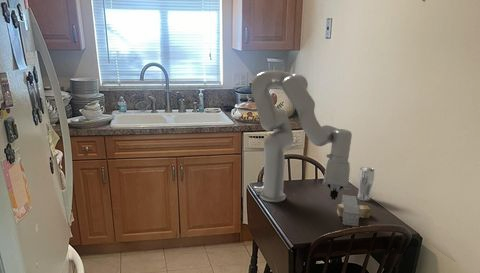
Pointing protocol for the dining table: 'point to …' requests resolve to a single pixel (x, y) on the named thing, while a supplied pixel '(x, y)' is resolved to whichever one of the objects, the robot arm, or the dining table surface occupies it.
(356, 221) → the housing
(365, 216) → the bar
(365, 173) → the beer glass
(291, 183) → the dining table surface
